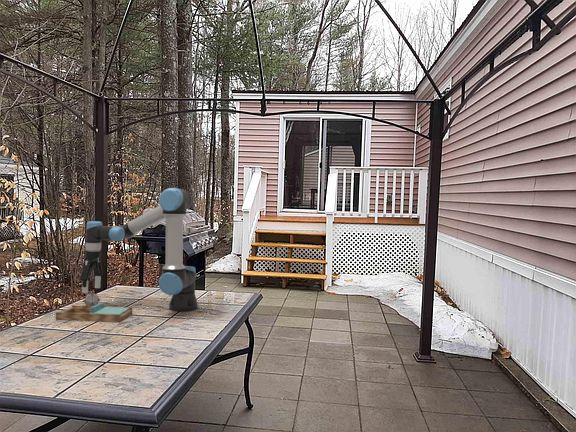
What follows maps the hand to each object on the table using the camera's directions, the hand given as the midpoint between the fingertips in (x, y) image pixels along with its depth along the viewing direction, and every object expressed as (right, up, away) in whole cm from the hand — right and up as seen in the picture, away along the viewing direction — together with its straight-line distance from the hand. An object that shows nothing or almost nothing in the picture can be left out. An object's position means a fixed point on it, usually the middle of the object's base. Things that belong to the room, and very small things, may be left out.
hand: (91, 290), depth 220 cm
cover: (+17, -7, -17) cm, 26 cm away
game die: (0, -9, 0) cm, 9 cm away
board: (+10, -10, -17) cm, 22 cm away
